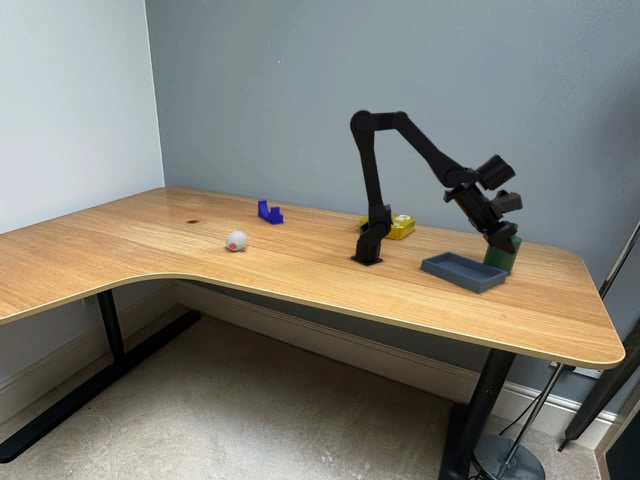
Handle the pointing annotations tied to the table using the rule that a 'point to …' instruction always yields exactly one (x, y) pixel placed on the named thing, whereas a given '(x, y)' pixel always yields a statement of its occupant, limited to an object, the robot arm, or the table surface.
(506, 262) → the bottle
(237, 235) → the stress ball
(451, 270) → the tray
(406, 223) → the element tile
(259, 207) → the cable clip
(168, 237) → the table surface
